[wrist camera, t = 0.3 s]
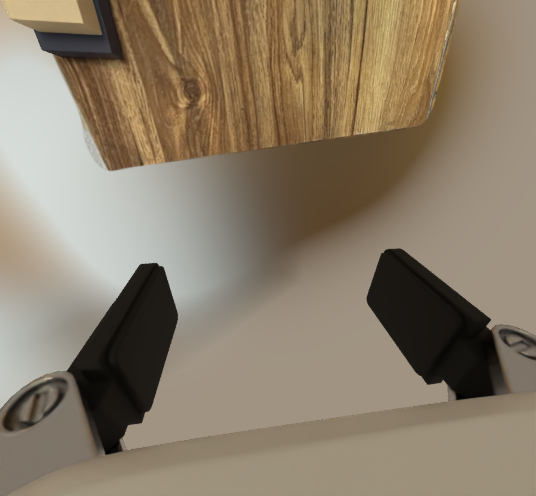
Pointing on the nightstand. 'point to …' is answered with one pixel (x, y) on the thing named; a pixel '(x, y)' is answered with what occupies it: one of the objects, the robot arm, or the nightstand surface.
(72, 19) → the tan cardboard box
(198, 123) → the nightstand surface
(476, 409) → the robot arm
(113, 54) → the navy rectangular box
